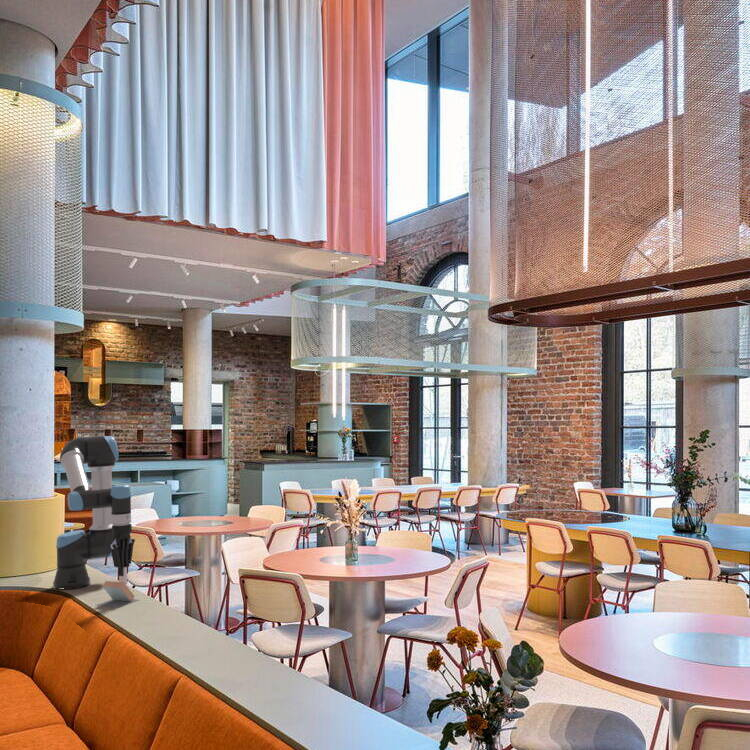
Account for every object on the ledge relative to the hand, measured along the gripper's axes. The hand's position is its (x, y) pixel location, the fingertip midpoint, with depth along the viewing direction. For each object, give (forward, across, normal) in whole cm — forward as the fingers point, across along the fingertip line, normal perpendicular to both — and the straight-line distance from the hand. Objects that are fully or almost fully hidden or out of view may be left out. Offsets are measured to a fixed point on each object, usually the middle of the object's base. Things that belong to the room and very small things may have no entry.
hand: (123, 583), depth 315 cm
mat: (+7, -4, 0) cm, 8 cm away
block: (+6, 0, 0) cm, 6 cm away
